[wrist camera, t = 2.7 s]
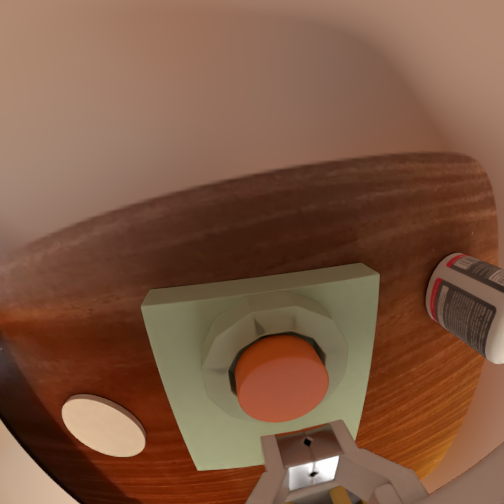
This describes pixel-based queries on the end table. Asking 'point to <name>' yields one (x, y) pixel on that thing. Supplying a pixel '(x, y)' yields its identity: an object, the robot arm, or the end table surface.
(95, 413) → the coaster
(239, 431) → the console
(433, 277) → the pill bottle
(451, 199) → the end table surface
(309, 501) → the lantern
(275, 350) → the press button
